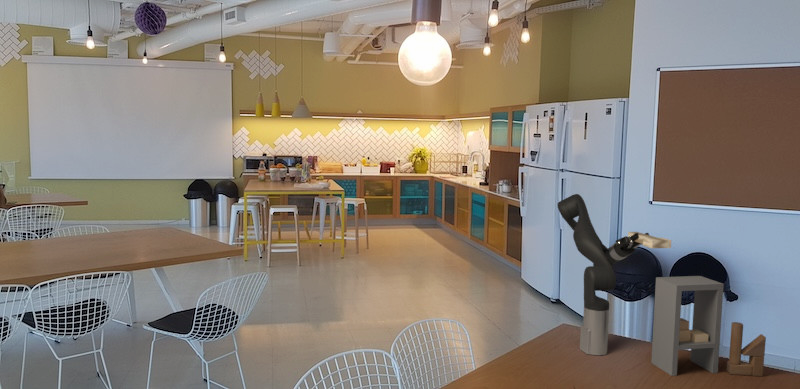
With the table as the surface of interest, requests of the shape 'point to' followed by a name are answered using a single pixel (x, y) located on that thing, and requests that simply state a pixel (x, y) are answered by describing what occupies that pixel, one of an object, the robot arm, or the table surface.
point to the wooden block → (745, 353)
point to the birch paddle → (651, 241)
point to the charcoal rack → (687, 323)
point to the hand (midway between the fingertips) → (642, 235)
